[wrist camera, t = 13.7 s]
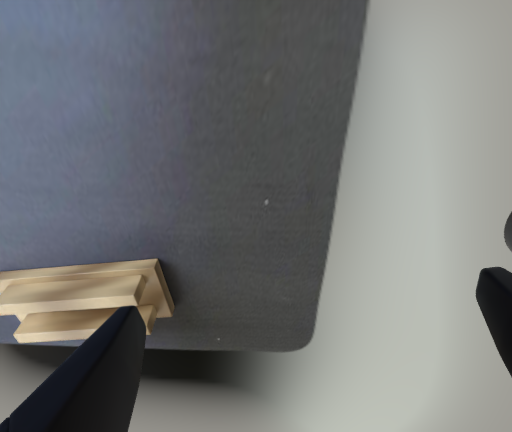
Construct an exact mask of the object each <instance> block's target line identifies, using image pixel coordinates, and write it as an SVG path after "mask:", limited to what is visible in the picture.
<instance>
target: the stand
mask: <svg viewBox="0 0 512 432" xmlns="http://www.w3.org/2000/svg"><path fill="white" fill-rule="evenodd" d="M0 293H1V295H0V316H1V315H15V314H16V316H17V317H18V319H19V320H20V321H21V324H20V326H19V327H18V329H17V330H16V331H15V333H14V337H15V338H16V340H17V341H18V342H19V343H32V342H47V341H62V340H78V339H88V338H89V337H90V336H91V335H92V334H93V333H94V332H95V331H96V330H97V329H98V328H99V327H100V326H101V325H102V324H103V323H104V322H105V321H106V320H107V319H108V318H109V317H110V316H111V315H112V314H113V313H114V312H115V311H116V310H117V309H118V308H120V307H122V306H130V305H134V306H136V307H137V308H138V310H139V312H140V314H141V316H142V318H143V320H144V322H145V325H146V335H150V334H151V332H152V329H153V326H154V322H155V319H156V318H161V317H172V315H173V312H174V308H175V306H174V304H173V301H172V298H171V295H170V292H169V289H168V287H167V284H166V281H165V278H164V275H163V272H162V270H161V267H160V264H159V261H158V259H147V260H135V261H123V262H111V263H99V264H87V265H75V266H63V267H51V268H39V269H27V270H15V271H3V272H0Z"/></svg>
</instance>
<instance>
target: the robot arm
mask: <svg viewBox="0 0 512 432" xmlns="http://www.w3.org/2000/svg"><path fill="white" fill-rule="evenodd" d="M476 299H477V302H478V304H479V307H480V309H481V311H482V314H483V316H484V318H485V321H486V323H487V326H488V328H489V330H490V333H491V335H492V337H493V340H494V342H495V345H496V347H497V349H498V351H499V354H500V356H501V358H502V360H503V362H504V364H505V366H506V367H507V369H508V371H509V373H510V375H511V376H512V273H511V272H509V271H507V270H506V269H504V268H501V267H492V268H484V269H482V270H481V272H480V275H479V280H478V284H477V288H476ZM145 340H146V325H145V322H144V320H143V318H142V316H141V314H140V312H139V310H138V308H137V307H136V306H134V305H130V306H122V307H120V308H118V309H117V310H116V311H115V312H114V313H113V314H112V315H111V316H110V317H109V318H108V319H107V320H106V321H105V322H104V323H103V324H102V325H101V326H100V327H99V328H98V329H97V330H96V331H95V332H94V333H93V334H92V335H91V336H90V337H89V338H88V339H87V340H86V341H85V342H84V343H83V344H82V345H80V346H79V347H78V348H77V349H76V350H75V351H74V352H73V353H72V354H71V355H70V356H69V358H67V359H66V360H65V361H64V362H63V363H62V364H61V365H60V366H59V367H58V368H57V369H56V370H55V371H54V372H53V373H52V374H51V375H50V376H49V377H48V378H47V379H46V380H45V381H44V382H43V383H42V384H41V385H40V386H39V387H38V388H37V389H36V390H35V391H34V392H33V393H32V394H31V395H30V396H29V397H28V398H27V399H26V400H25V401H24V402H23V403H22V404H21V405H20V406H19V407H18V408H17V409H16V410H14V411H13V413H11V415H10V418H9V417H8V418H6V419H5V420H4V421H3V422H2V423H1V424H0V432H128V428H129V424H130V420H131V416H132V412H133V408H134V404H135V400H136V396H137V392H138V387H139V382H140V375H141V368H142V361H143V354H144V347H145Z"/></svg>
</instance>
